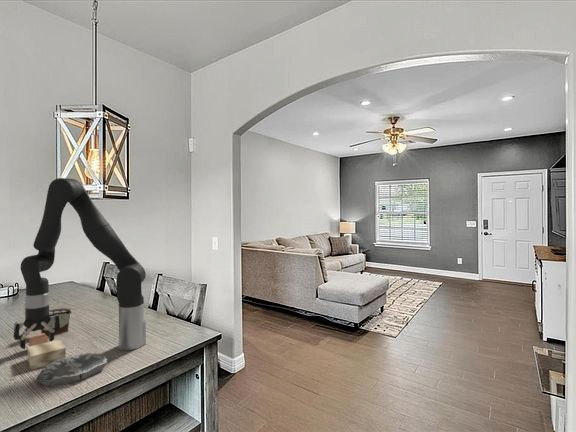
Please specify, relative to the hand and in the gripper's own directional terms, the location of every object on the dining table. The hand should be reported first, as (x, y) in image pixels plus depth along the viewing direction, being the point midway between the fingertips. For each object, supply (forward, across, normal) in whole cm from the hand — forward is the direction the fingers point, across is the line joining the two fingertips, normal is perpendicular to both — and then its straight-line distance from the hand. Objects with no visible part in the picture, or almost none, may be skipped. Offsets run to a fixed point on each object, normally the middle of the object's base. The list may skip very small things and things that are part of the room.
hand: (37, 344), depth 124 cm
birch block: (+2, 0, -13) cm, 13 cm away
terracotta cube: (+2, 0, 0) cm, 2 cm away
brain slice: (+2, +4, -30) cm, 31 cm away
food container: (+2, +8, +14) cm, 16 cm away
